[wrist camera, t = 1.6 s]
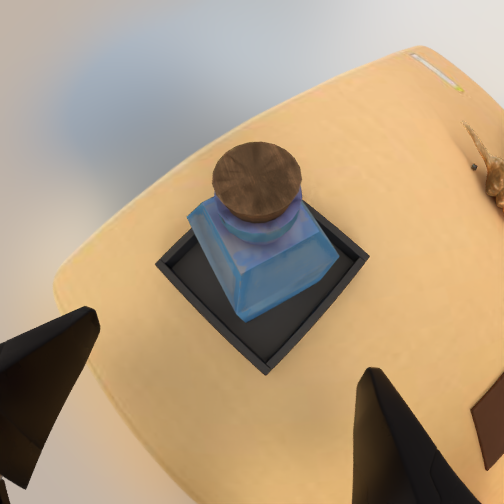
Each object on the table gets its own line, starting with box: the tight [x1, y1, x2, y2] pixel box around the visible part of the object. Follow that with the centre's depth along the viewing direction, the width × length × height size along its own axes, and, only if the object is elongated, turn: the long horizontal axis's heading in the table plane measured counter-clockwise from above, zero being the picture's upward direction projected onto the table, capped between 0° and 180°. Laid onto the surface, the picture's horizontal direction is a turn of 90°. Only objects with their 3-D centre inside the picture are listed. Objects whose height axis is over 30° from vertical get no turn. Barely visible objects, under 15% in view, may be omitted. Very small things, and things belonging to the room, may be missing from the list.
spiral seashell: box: [461, 121, 504, 213], centre depth 21 cm, size 14×5×4 cm, turn 44°
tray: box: [155, 200, 370, 376], centre depth 21 cm, size 11×11×2 cm
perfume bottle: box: [187, 142, 339, 323], centre depth 15 cm, size 6×6×12 cm
